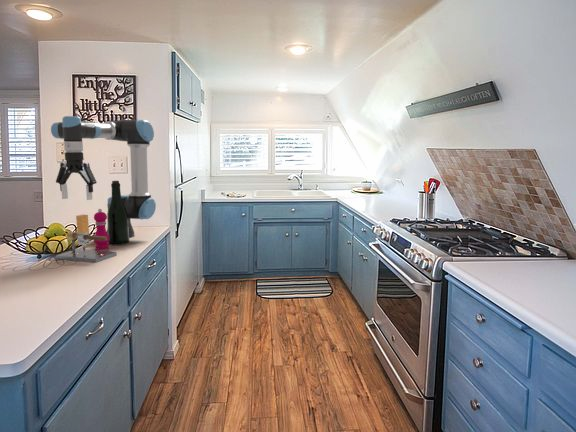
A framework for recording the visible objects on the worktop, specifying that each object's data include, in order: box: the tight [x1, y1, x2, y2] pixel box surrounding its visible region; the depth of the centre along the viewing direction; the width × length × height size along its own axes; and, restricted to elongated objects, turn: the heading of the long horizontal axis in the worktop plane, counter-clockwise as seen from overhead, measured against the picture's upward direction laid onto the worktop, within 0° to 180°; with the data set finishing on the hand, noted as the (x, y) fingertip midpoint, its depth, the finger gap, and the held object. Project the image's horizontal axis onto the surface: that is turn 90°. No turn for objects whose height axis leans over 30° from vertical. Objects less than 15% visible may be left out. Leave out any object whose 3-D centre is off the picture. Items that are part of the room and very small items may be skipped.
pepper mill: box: [93, 208, 110, 251], centre depth 229 cm, size 7×7×20 cm
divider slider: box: [75, 214, 91, 252], centre depth 212 cm, size 4×3×17 cm
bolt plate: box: [55, 248, 117, 263], centre depth 213 cm, size 14×22×2 cm, turn 73°
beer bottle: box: [106, 180, 130, 246], centre depth 240 cm, size 10×10×33 cm
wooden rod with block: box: [66, 231, 107, 253], centre depth 212 cm, size 4×20×9 cm, turn 73°
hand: (77, 199), depth 208 cm, fingers open, 13 cm apart
